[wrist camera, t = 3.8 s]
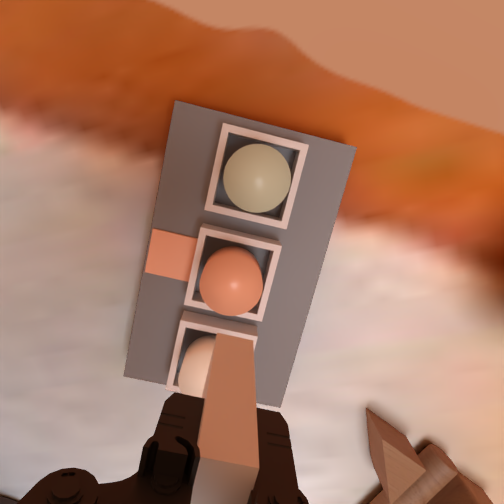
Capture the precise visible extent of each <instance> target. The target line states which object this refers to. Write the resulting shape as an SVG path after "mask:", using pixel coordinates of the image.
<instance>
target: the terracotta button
mask: <svg viewBox="0 0 504 504" xmlns="http://www.w3.org/2000/svg"><path fill="white" fill-rule="evenodd" d="M199 288H200V293H201V296H202V299H203V300H204V302H205V303H206V305H207V306H208V307H209V308H210V309H212V310H213V311H215V312H217V313H219V314H222V315H226V316H236V315H241V314H244V313H246V312H248V311H249V310H251V309H252V308H253V307H254V306H255V305H256V304H257V303H258V301H259V299H260V297H261V295H262V290H263V281H262V275H261V269H260V265H259V263H258V261H257V259H256V258H255V256H254V255H253V254H252V253H250V252H249V251H248V250H246V249H244V248H241V247H236V246H228V247H223V248H221V249H219V250H217V251H215V252H214V253H213V254H212V255H211V256H210V257H209V258H208V260H207V262H206V264H205V267H204V269H203V272H202V274H201V278H200V283H199Z"/></svg>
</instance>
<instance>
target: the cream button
mask: <svg viewBox="0 0 504 504" xmlns="http://www.w3.org/2000/svg"><path fill="white" fill-rule="evenodd" d="M215 339H216V336H214V335H208V336H203V337H200V338H198V339H196V340H195V341H193V342H192V343H191V344H190V345H189V347H188V348H187V350H186V353H185V356H184V359H183V363H182V366H181V369H180V372H179V377H178V384H179V388H180V391H181V393H182V394H185V395H190V396H195V397H200V398H202V394H203V389H204V385H205V381H206V377H207V373H208V368H209V364H210V360H211V356H212V352H213V348H214V343H215Z"/></svg>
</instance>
